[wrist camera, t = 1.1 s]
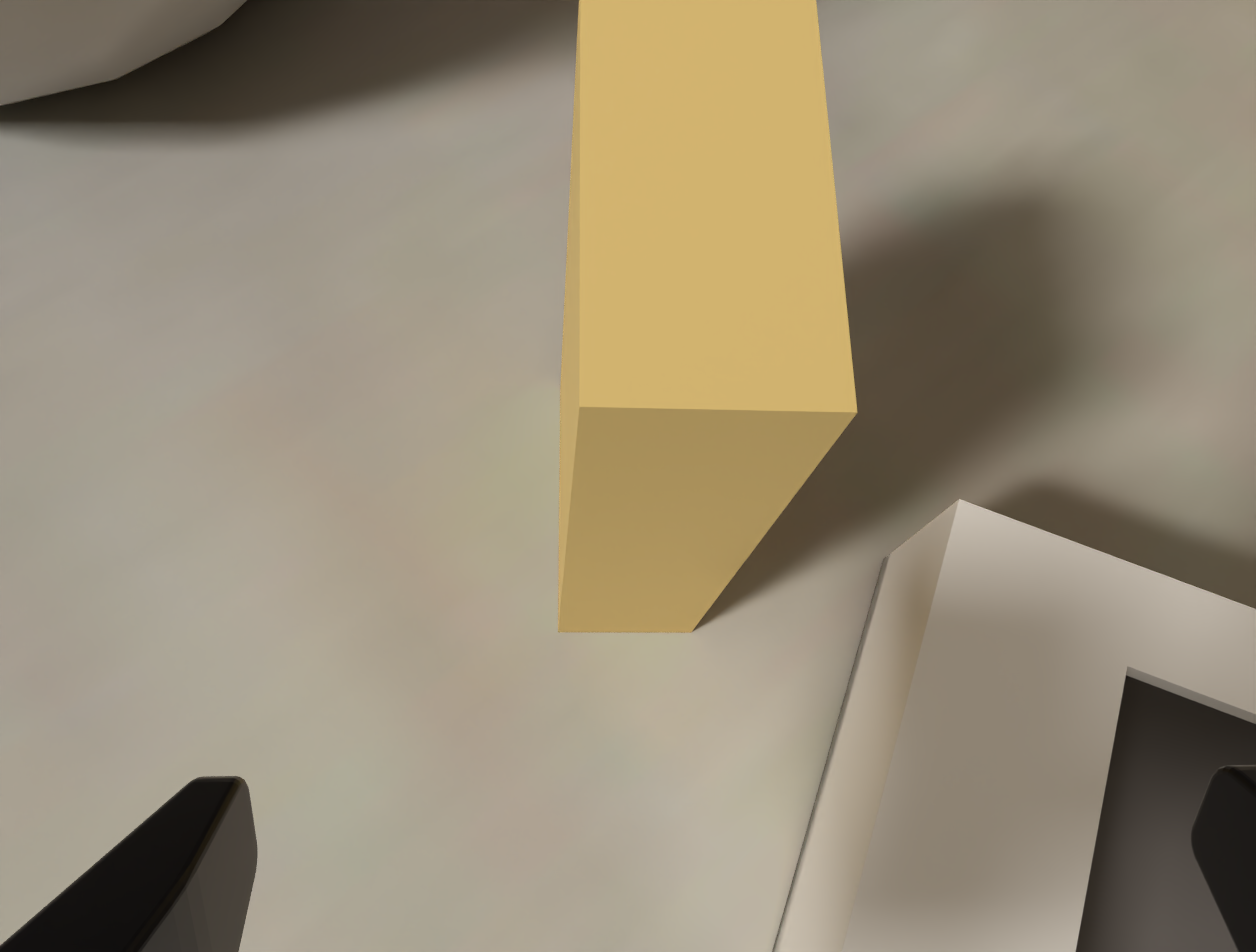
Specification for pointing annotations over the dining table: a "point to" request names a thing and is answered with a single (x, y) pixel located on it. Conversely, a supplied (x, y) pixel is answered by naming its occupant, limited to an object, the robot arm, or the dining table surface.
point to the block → (693, 302)
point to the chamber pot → (93, 40)
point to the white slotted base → (1024, 753)
